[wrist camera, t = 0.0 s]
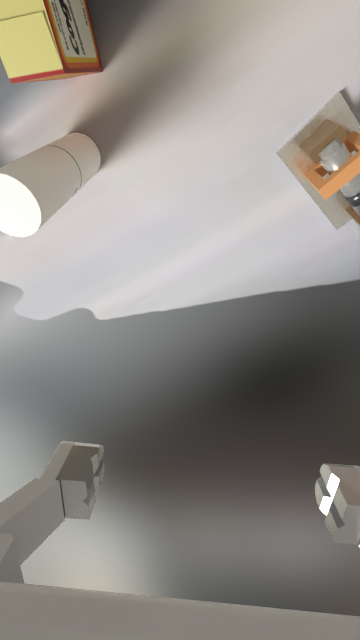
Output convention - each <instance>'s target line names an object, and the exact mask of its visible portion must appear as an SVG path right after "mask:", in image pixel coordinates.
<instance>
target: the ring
mask: <svg viewBox="0 0 360 640" xmlns="http://www.w3.org/2000/svg"><path fill="white" fill-rule="evenodd" d="M342 142H343V143H344V145H345V146H346V148H347V149H348V151H349V152H350V153H352V152H353V151H355V152H357V153H356V154H355V155H353V156H352V157H351V158H350V159H349V160H347V161H346V162H345V163H344V164H343V165H341V166H340V167H339V168H338V169H337V170H335V171H334V172H333V173H332V174H331V175H330V176H328V177H327V178H326V179H324V178H323V176H325V175H326V174H327V171H326V170H325V168H324V167H323V166H322V164H321V163H320V161H319V162H318V163H317V164H316V165H314V166H313V167H311V168H310V169H309V170H308V171H307V172H306V173H305V174H304V175H305V177H306V178H307V179H308V181H309V182H310V183H311V184H312V185H313V186H314V188H315V189H316V190H317V191H318V192H319V193H320V194H321V195H322V196H323V198H324V199H325V200H326V199H328V198H329V197H330V196H331V195H333V194H334V193H335V192H336V191H338V190H339V189H340V188H341V187H343V186H344V185H345V184H346V183H348V182H349V181H350V180H351V179H353V178H354V177H355V176H356V175H358V174H359V173H360V133H358V132H356V131H352V132H351V133H350V134H349V135H348V137H347V138H345V139H344V140H343V141H342Z"/></svg>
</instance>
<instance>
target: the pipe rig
mask: <svg viewBox="0 0 360 640" xmlns="http://www.w3.org/2000/svg"><path fill="white" fill-rule="evenodd" d="M352 131H356V132H358V133H360V124H359V123H358V121H357V119H356V118H355V116H354V114H353V113H352V111H351V109H350V108H349V106H348V104H347V103H346V101H345V100H344V98H343V96H342V95H341V93H340V92H338V93H337V94H336V95H335V96H334V97H333V98H332V99H331V100H330V101H329V102H328V103H327V104H326V105H325V106H324V107H323V108H322V109H321V110H320V111H319V112H318V113H317V114H316V115H315V116H314V117H313V118H312V119H311V120H309V121H308V122H307V123H306V124H305V125H304V126H303V127H302V128H301V129H300V130H299V131H298V132H297V133H296V134H295V135H294V136H293V137H292V138H291V139H290V140H289V141H288V142H287V143H286V144H285V145H284V146H283V147H282V148H281V149H280V150H279V151H278V152H277V154H278V156H279V157H280V158H281V160H282V161H283V162H284V163H285V165H286V166H287V167H288V168H289V170H290V171H291V172H292V173H293V175H294V176H295V177H296V179H297V180H298V181H299V182H300V184H301V185H302V186H303V187H304V189H305V190H306V191H307V193H308V194H309V195H310V196H311V198H312V199H313V200H314V201H315V203H316V204H317V205H318V207H319V208H320V209H321V210H322V212H323V213H324V214H325V215H326V217H327V218H328V219H329V221H330V222H331V223H332V224H333V226H334V227H335V228H336V229H338V228H340V227H341V226H343V225H344V224H345V223H347V222H348V221H349V220H351V219H353V220H354V221H355V222H356V223H357V224H358V225H359V226H360V173H359V174H358V175H356V176H355V177H354V178H353V179H351V180H350V181H349V182H348V183H346V184H345V185H344V186H343V187H341V188H340V189H339V190H338V191H336V192H335V193H334V194H333V195H331V196H330V197H329V198H328V199H326V200H325V199H324V198H323V196H322V195H321V194H320V193H319V192H318V191H317V190H316V189H315V188H314V186H313V185H312V184H311V183H310V182H309V181H308V179H307V178H306V177H305V175H304V174H305V173H306V172H307V171H308V170H309V169H310V168H311V167H313V166H314V165H316V164H317V163H318V162H319V161H320V163H321V164H322V166H323V167H324V168H325V170H326V171H327V174H326V175H325V176H323V178H324V179H326V178H327V177H328V176H330V175H331V174H332V173H333V172H334V171H335V170H337V169H338V168H339V167H340V166H341V165H343V164H344V163H345V162H346V161H347V160H349V159H350V158H351V157H352V156H353V155H355V154H356V153H357V152H355V151H353V152H352V153H350V152H349V151H348V149H347V148H346V146H345V145H344V143H343V142H342V141H343V140H344V139H345V138H347V137H348V135H349V134H350V133H351V132H352Z"/></svg>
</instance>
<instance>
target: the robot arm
mask: <svg viewBox="0 0 360 640" xmlns="http://www.w3.org/2000/svg"><path fill="white" fill-rule="evenodd" d="M102 455H103V446H102V445H96V444H87V443H78V442H67V441H62V442H61V443H60V444H59V445H58V447H57V449H56V451H55V452H54V454H53V456H52V458H51V459H50V461H49V463H48V465H47V466H46V468H45V470H44V472H43V474H42V475H41V477H40V478H35V479H34V480H32V481H31V482H29V483H28V484H27V485H25V486H24V487H22V488H21V489H19V490H18V491H17V492H15V493H14V494H12V495H11V496H9V497H8V498H7V499H5V500H4V501H2V502H1V503H0V640H360V617H358V616H348V615H337V614H327V613H318V612H307V611H297V610H287V609H277V608H266V607H257V606H247V605H237V604H226V603H215V602H206V601H196V600H185V599H175V598H165V597H153V596H145V595H134V594H124V593H114V592H103V591H93V590H84V589H73V588H63V587H53V586H43V585H32V584H24V580H23V576H22V571H21V567H20V565H21V564H22V563H23V562H24V561H25V560H26V559H27V558H28V557H29V556H30V555H31V554H32V553H33V552H34V551H35V550H36V549H37V548H38V547H39V545H41V544H42V543H43V542H44V540H45V539H46V538H47V537H48V536H49V535H50V534H51V533H52V532H53V531H54V530H55V529H56V528H57V527H58V526H59V525H60V524H61V523H62V522H63V521H64V520H65V518H74V519H90V516H91V513H92V510H93V507H94V504H95V501H96V500H95V493H96V492H97V491H98V490H99V489H100V486H101V483H102V479H103V474H104V461H103V460H102V459H101V458H102ZM320 473H321V475H322V477H320V478H319V479H317V481H316V485H315V496H316V501H317V504H318V506H319V508H320V510H321V511H322V512H323V513H324V514H325V515H326V519H325V524H326V526H327V529H328V531H329V534H330V536H331V539H332V541H333V542H338V543H346V544H354V545H359V547H360V466H349V465H336V464H323V465H322V466H321V469H320Z"/></svg>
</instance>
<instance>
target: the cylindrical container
mask: <svg viewBox="0 0 360 640" xmlns="http://www.w3.org/2000/svg"><path fill="white" fill-rule="evenodd" d="M100 165H101V156H100V152H99V149H98V147H97V145H96V144H95V143H94V141H93V140H92V139H91V138H89V137H88V136H86V135H84V134H82V133H70V134H68V135H66V136H64V137H62V138H60V139H58V140H56V141H54V142H52V143H50V144H48V145H46V146H44V147H42V148H40V149H38V150H35V151H33V152H31V153H29V154H27V155H25V156H23V157H21V158H19V159H17V160H15V161H13V162H11V163H9V164H7V165H5V166H3V167H1V168H0V231H2V232H4V233H6V234H8V235H11V236H15V237H27V236H30V235H32V234H34V233H35V232H36V231H37V230H38V229H39V228H40V227H41V226H42V225H43V224H44V223H46V222H47V221H48V220H49V219H50V218H51V217H52V216H53V215H54V214H55V213H56V212H57V211H58V210H59V209H60V208H61V207H62V206H63V205H64V204H65V203H66V202H67V201H68V200H69V199H70V198H71V197H72V196H73V195H74V194H76V193H77V192H78V191H79V190H80V189H81V188H82V187H83V186H84V185H85V184H86V183H87V182H88V181H89V180H90V179H91V178H92V177H93V176H94V175H95V174H96V173H97V172H98V171H99V168H100Z"/></svg>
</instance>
